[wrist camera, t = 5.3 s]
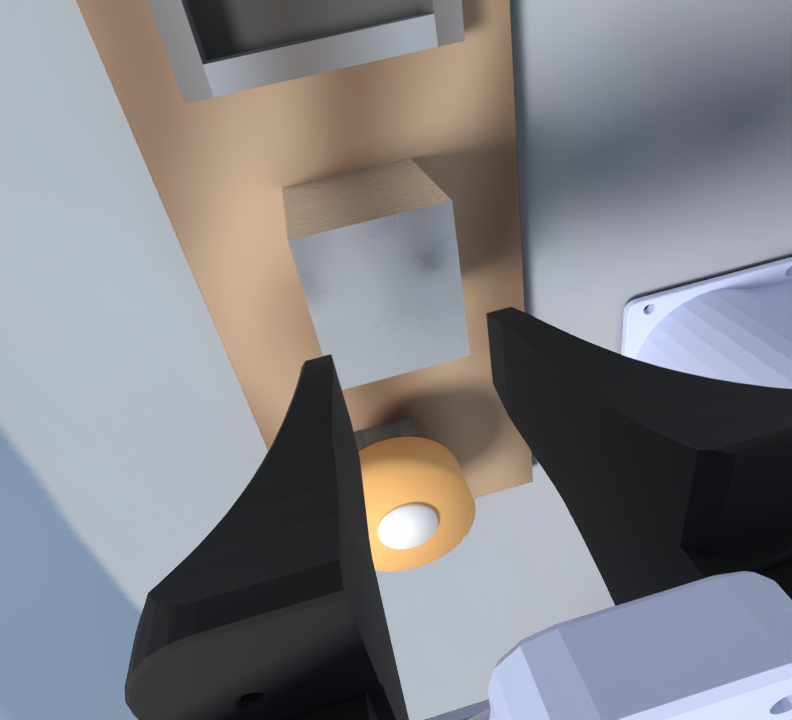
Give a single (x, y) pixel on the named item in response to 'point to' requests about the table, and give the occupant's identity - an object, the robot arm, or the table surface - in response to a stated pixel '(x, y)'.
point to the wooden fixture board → (324, 157)
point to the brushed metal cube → (379, 270)
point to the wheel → (413, 502)
